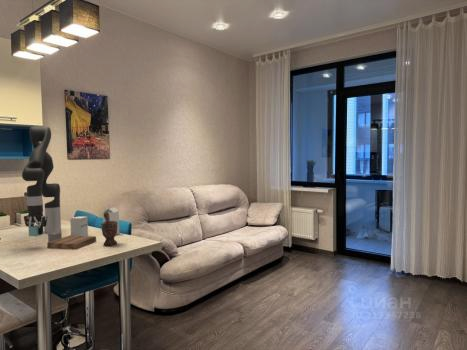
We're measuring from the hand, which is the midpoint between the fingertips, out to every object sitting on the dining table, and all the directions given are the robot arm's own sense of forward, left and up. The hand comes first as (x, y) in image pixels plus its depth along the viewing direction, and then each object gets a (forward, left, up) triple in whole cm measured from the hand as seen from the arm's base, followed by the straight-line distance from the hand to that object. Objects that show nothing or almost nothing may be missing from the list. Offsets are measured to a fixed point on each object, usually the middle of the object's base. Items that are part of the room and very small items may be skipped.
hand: (36, 234), depth 185 cm
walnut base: (+16, +9, -8) cm, 20 cm away
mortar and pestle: (+39, +11, -8) cm, 41 cm away
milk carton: (+24, +36, -8) cm, 44 cm away
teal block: (0, 0, -1) cm, 1 cm away
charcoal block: (0, +14, -8) cm, 16 cm away
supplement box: (+7, +27, -8) cm, 29 cm away
